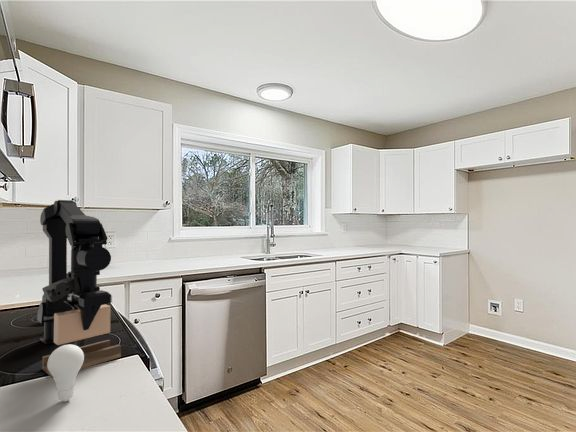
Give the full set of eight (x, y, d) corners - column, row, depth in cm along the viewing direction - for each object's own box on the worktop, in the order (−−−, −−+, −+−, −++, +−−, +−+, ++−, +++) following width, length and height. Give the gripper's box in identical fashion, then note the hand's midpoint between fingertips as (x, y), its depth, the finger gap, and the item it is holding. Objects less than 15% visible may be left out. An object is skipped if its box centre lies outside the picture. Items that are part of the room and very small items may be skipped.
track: (41, 368, 82) (42, 356, 82) (108, 350, 94) (108, 339, 94) (52, 377, 77) (52, 364, 77) (120, 356, 89) (121, 345, 89)
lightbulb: (89, 393, 70) (90, 339, 70) (71, 409, 64) (72, 350, 64) (59, 393, 70) (60, 340, 70) (39, 409, 64) (39, 351, 64)
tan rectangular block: (53, 342, 82) (54, 313, 82) (105, 330, 91) (105, 304, 91) (57, 345, 80) (58, 315, 80) (110, 332, 89) (110, 306, 90)
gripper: (35, 267, 86) (34, 329, 85) (60, 274, 74) (59, 345, 74) (83, 263, 94) (82, 319, 94) (112, 269, 83) (112, 332, 82)
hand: (83, 328), depth 86 cm, fingers closed on tan rectangular block, 3 cm apart
